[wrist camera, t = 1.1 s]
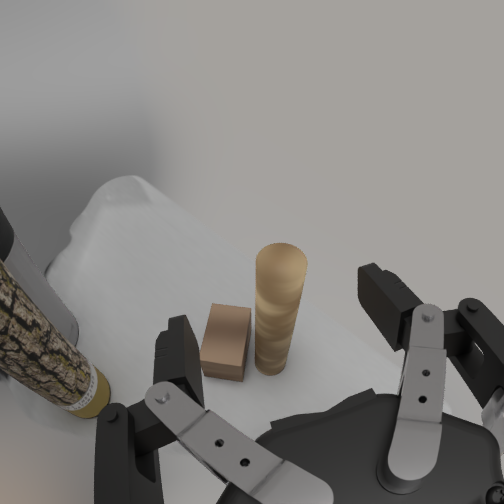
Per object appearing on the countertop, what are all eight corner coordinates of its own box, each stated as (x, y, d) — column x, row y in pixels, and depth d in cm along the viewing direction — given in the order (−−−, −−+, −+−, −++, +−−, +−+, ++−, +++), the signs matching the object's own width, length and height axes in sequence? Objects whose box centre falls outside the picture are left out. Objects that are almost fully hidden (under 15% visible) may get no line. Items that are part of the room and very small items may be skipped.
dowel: (252, 373, 34) (252, 279, 21) (257, 346, 36) (259, 240, 23) (284, 376, 34) (306, 285, 20) (286, 349, 36) (308, 245, 23)
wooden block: (242, 381, 33) (241, 366, 30) (204, 375, 34) (198, 359, 30) (251, 329, 38) (251, 308, 34) (216, 324, 38) (212, 303, 35)
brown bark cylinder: (119, 378, 33) (-5, 226, 14) (102, 427, 28) (-60, 312, 10) (76, 363, 34) (-44, 220, 15) (59, 408, 29) (-90, 287, 11)
